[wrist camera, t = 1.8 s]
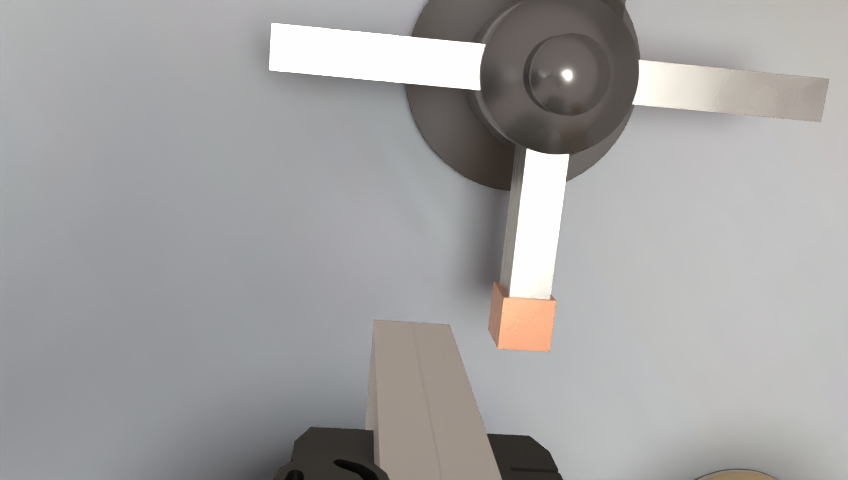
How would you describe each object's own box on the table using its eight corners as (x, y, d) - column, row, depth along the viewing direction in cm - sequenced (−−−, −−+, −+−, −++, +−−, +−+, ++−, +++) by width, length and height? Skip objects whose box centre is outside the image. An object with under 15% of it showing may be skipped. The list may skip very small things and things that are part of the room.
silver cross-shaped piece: (271, 293, 30) (249, 349, 24) (299, -221, 26) (281, -309, 20) (714, 322, 32) (798, 381, 26) (800, -156, 28) (921, -218, 22)
